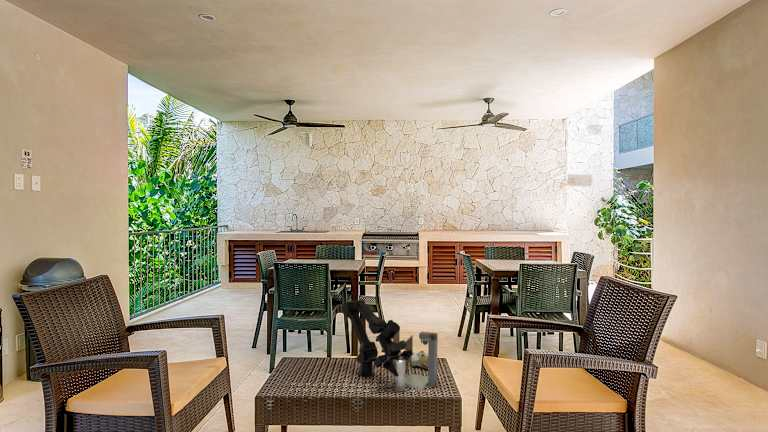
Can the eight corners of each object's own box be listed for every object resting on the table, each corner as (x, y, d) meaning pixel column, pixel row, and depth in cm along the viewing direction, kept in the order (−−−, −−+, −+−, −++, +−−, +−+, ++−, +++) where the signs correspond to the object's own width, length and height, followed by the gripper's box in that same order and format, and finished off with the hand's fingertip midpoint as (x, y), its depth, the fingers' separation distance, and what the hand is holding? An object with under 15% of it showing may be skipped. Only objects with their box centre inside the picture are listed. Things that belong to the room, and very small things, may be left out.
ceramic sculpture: (413, 346, 241) (440, 350, 236) (411, 362, 241) (439, 367, 236) (406, 351, 231) (434, 356, 226) (405, 368, 232) (433, 373, 226)
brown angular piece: (412, 363, 240) (412, 329, 240) (392, 362, 241) (392, 328, 242) (412, 361, 244) (412, 327, 244) (392, 360, 245) (393, 326, 246)
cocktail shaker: (392, 388, 201) (392, 356, 202) (401, 386, 204) (401, 355, 204) (398, 392, 197) (398, 359, 197) (407, 390, 200) (407, 357, 200)
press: (394, 388, 202) (394, 336, 203) (409, 376, 219) (410, 327, 220) (427, 394, 196) (427, 340, 196) (440, 381, 213) (440, 331, 213)
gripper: (378, 337, 199) (393, 369, 190) (410, 332, 210) (426, 361, 201) (367, 351, 205) (382, 383, 196) (400, 345, 216) (414, 374, 207)
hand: (402, 375), depth 200 cm, fingers closed on cocktail shaker, 5 cm apart
